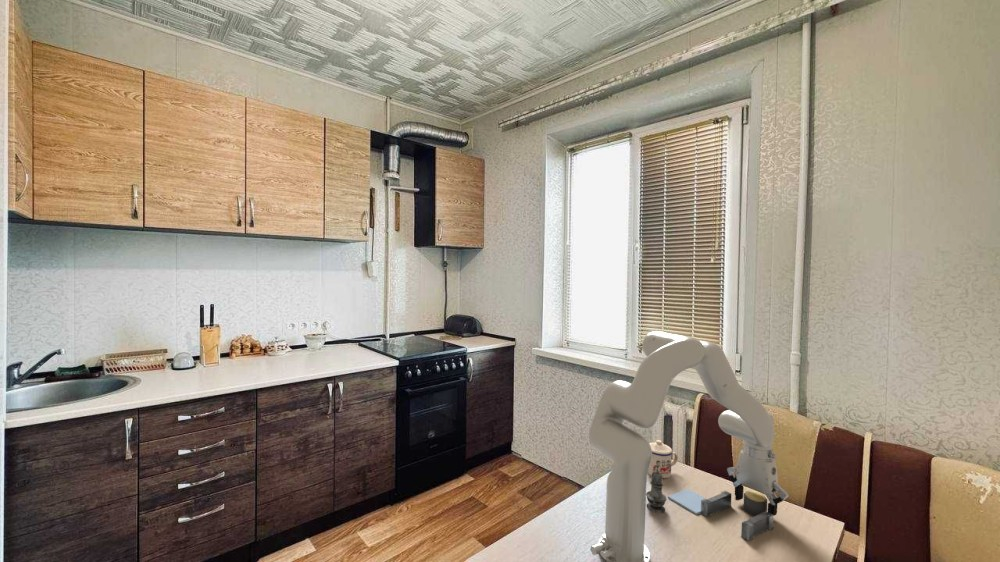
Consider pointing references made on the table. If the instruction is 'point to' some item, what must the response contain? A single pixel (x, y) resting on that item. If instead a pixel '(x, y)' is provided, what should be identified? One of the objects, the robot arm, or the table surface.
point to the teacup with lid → (661, 459)
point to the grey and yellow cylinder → (754, 503)
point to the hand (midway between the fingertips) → (754, 507)
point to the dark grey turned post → (656, 494)
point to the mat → (688, 500)
